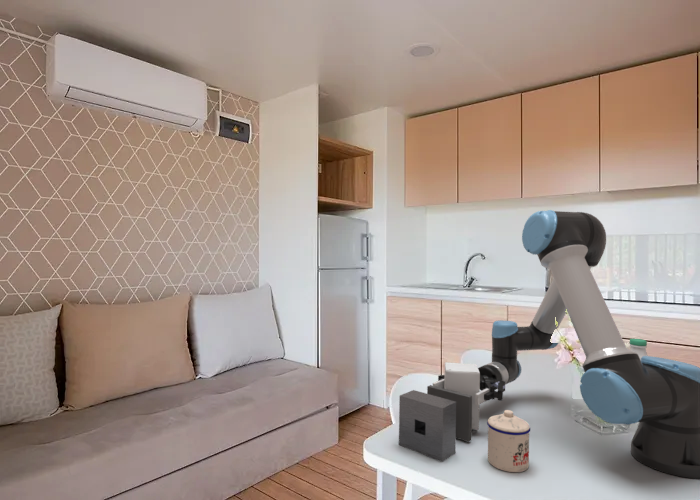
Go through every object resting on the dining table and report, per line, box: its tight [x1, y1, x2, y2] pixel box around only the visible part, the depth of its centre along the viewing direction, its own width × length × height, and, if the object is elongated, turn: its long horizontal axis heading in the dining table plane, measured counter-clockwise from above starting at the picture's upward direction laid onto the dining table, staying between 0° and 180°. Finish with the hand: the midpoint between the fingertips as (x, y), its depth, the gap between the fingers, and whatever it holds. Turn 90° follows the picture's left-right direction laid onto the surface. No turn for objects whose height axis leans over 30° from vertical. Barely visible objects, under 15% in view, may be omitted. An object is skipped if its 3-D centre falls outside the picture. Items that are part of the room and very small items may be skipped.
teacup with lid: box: [486, 409, 531, 473], centre depth 96 cm, size 12×9×12 cm
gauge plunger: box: [426, 384, 473, 443], centre depth 107 cm, size 14×10×11 cm, turn 47°
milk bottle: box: [629, 338, 649, 360], centre depth 137 cm, size 8×8×20 cm
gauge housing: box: [398, 389, 457, 463], centre depth 106 cm, size 15×15×12 cm
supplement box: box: [444, 361, 481, 431], centre depth 114 cm, size 9×9×15 cm
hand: (454, 393), depth 111 cm, fingers closed on supplement box, 12 cm apart
